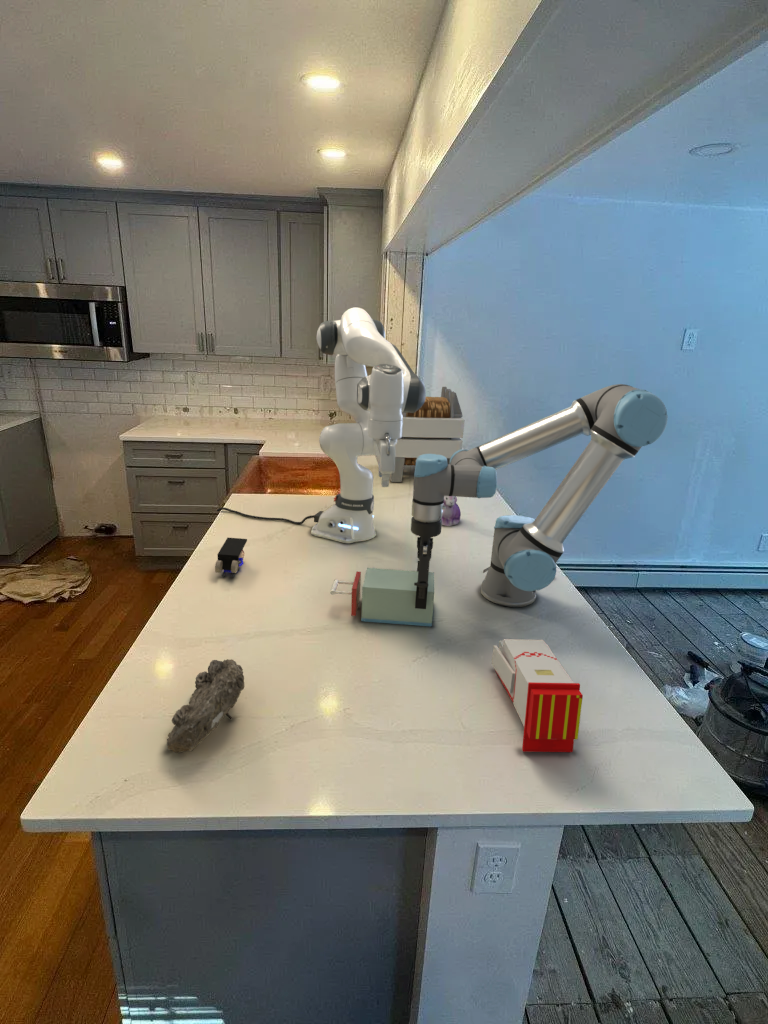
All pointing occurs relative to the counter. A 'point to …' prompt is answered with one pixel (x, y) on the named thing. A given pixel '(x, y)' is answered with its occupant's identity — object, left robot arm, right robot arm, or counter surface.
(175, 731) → the fossil
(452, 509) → the figurine
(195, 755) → the counter surface
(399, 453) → the transformer
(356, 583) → the drawer
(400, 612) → the cabinet
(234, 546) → the figurine character
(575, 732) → the toy
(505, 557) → the right robot arm
